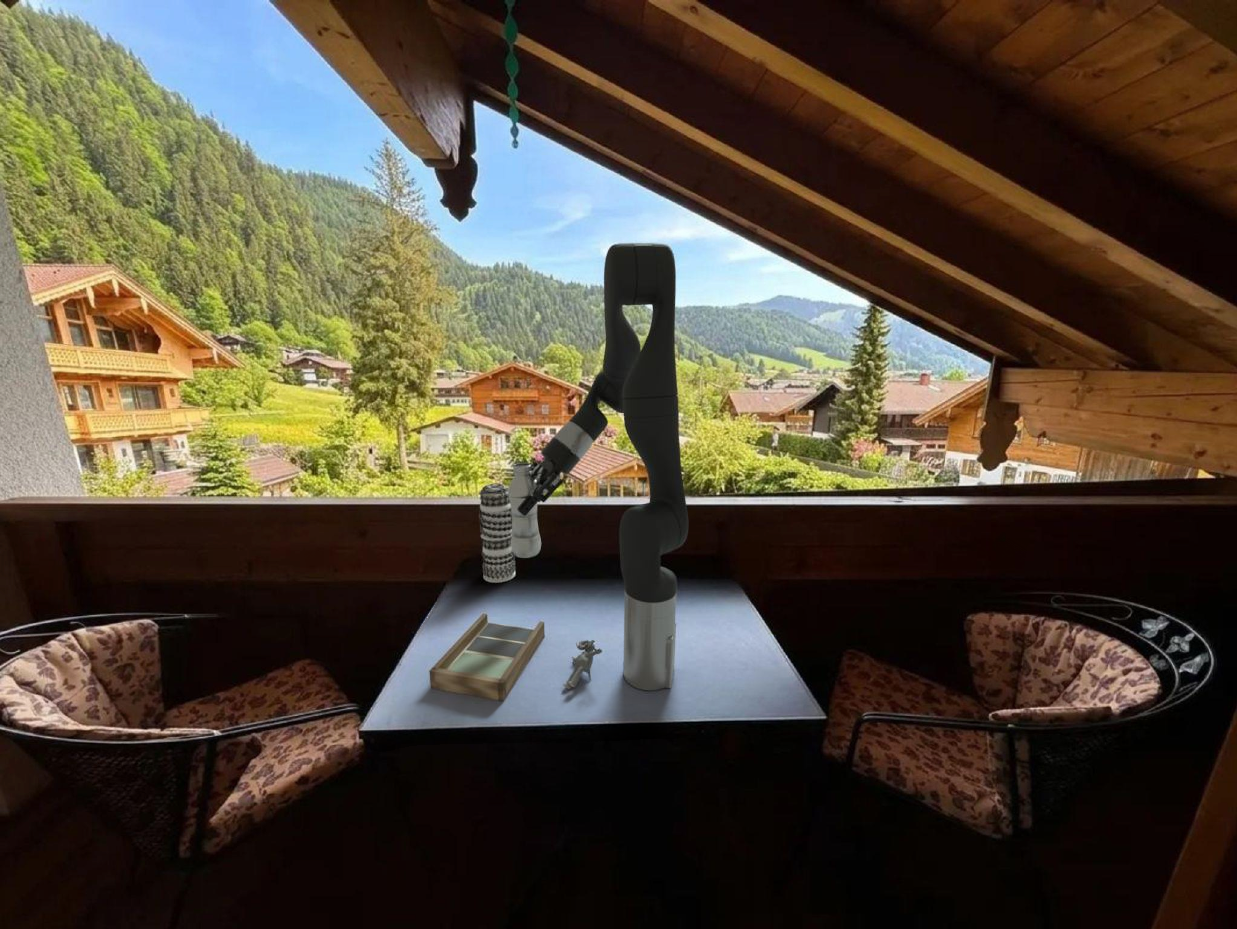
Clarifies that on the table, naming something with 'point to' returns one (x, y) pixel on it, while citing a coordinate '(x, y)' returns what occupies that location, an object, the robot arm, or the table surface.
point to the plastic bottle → (523, 527)
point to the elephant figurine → (582, 662)
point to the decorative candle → (496, 533)
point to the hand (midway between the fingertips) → (516, 508)
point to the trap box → (486, 659)
